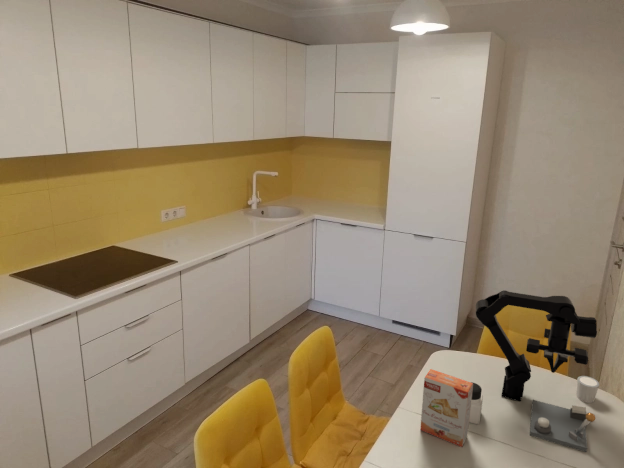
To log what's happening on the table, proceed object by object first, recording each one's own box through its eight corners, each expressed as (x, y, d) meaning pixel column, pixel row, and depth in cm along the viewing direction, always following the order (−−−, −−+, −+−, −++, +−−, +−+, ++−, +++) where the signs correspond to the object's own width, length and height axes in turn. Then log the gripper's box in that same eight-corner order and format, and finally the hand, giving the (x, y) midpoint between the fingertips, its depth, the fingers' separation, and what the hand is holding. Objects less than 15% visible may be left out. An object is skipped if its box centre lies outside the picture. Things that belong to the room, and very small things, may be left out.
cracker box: (419, 431, 149) (423, 376, 143) (426, 420, 154) (430, 367, 148) (462, 448, 142) (468, 392, 135) (467, 437, 146) (473, 381, 140)
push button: (537, 425, 146) (538, 422, 146) (537, 419, 149) (538, 416, 149) (548, 429, 145) (549, 425, 144) (548, 422, 148) (549, 419, 147)
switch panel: (529, 435, 147) (530, 427, 146) (532, 403, 162) (533, 395, 161) (587, 452, 140) (589, 444, 139) (584, 417, 155) (586, 409, 154)
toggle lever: (570, 431, 144) (586, 412, 138) (576, 428, 145) (591, 409, 139) (577, 438, 142) (593, 419, 136) (583, 436, 143) (599, 417, 137)
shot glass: (599, 404, 161) (602, 388, 159) (578, 402, 162) (581, 385, 160) (591, 392, 167) (595, 376, 165) (571, 390, 169) (574, 374, 167)
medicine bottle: (481, 412, 158) (484, 382, 154) (479, 425, 152) (482, 394, 148) (459, 406, 161) (462, 377, 157) (456, 419, 155) (460, 389, 151)
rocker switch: (572, 412, 152) (572, 409, 152) (572, 408, 154) (572, 405, 154) (586, 414, 150) (586, 411, 150) (585, 410, 152) (585, 407, 152)
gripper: (589, 328, 158) (582, 367, 162) (530, 317, 166) (525, 354, 171) (591, 343, 148) (583, 384, 153) (529, 330, 157) (523, 369, 161)
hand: (552, 372), depth 160 cm, fingers closed
